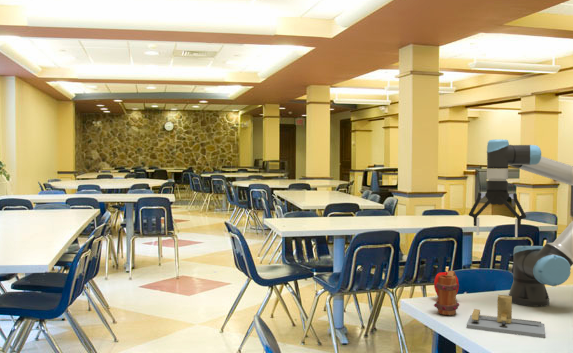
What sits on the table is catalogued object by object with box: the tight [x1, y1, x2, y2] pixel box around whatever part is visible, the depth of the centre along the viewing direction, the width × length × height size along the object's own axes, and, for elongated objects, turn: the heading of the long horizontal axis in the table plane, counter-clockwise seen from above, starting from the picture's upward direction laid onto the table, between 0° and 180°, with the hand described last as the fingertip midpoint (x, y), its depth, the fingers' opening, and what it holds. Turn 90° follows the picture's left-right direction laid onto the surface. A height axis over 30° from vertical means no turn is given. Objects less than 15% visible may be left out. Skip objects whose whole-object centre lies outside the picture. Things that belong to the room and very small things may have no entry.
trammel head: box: [496, 294, 513, 326], centre depth 180 cm, size 4×9×8 cm, turn 155°
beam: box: [471, 308, 542, 327], centre depth 179 cm, size 22×7×3 cm, turn 65°
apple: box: [433, 271, 460, 296], centre depth 217 cm, size 10×10×12 cm
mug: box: [433, 270, 460, 316], centre depth 199 cm, size 15×8×15 cm, turn 148°
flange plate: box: [466, 314, 546, 339], centre depth 180 cm, size 24×13×1 cm, turn 65°
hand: (496, 235), depth 201 cm, fingers open, 13 cm apart
